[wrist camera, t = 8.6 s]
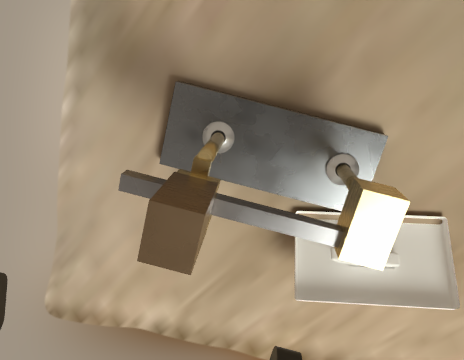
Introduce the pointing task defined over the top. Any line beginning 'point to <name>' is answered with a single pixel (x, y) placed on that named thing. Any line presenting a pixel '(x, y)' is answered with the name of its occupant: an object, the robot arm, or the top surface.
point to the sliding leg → (181, 214)
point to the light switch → (382, 282)
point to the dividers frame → (337, 235)
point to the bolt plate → (269, 145)
